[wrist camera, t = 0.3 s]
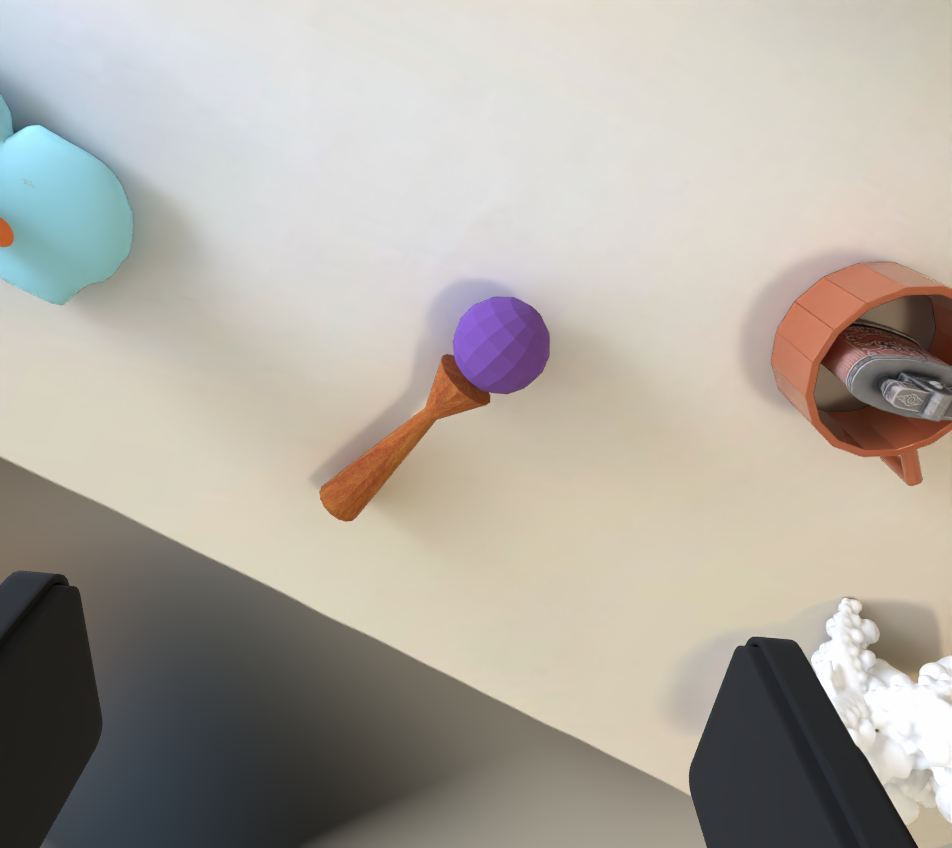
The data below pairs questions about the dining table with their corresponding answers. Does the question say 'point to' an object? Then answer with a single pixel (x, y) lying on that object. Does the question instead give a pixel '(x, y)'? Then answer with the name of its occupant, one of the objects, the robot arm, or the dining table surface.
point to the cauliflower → (891, 713)
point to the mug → (815, 332)
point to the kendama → (452, 392)
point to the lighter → (891, 371)
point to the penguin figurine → (57, 214)
